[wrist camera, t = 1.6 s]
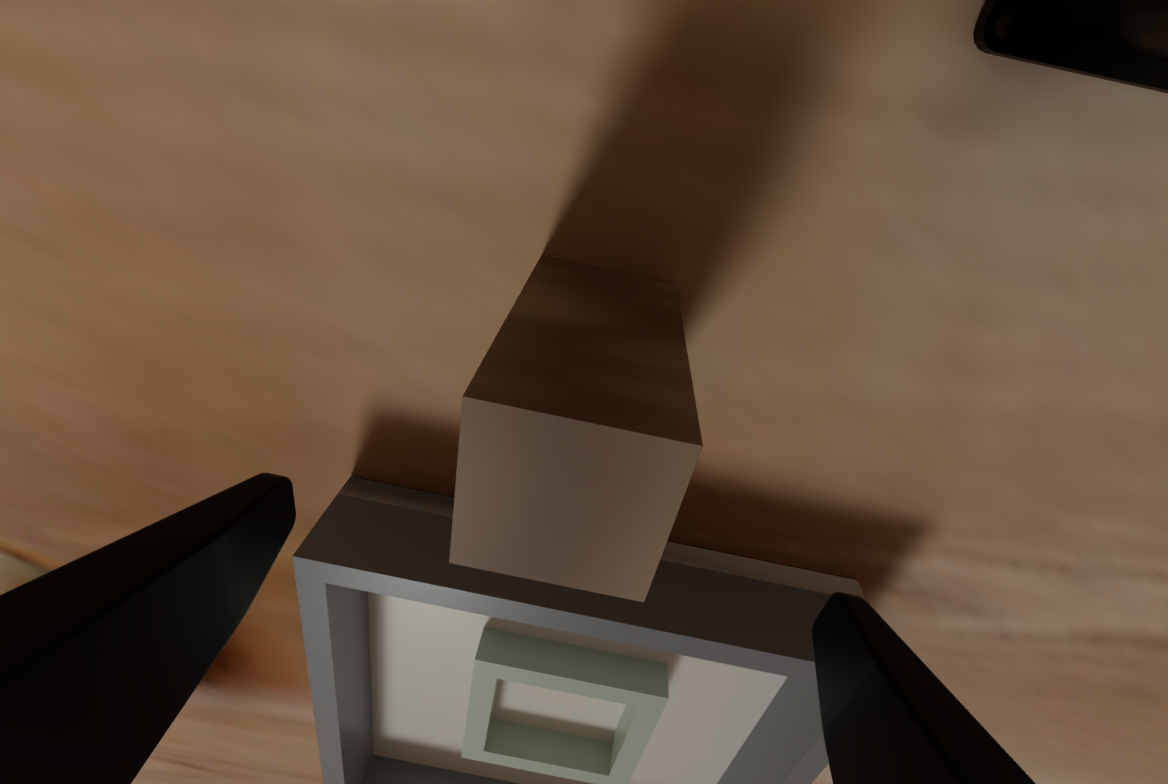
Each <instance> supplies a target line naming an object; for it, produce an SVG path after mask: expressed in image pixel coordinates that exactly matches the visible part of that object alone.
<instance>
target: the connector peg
mask: <svg viewBox="0 0 1168 784" xmlns="http://www.w3.org/2000/svg"><path fill="white" fill-rule="evenodd" d="M702 447H703V444H702V438H701V432H700V426H699V420H698V414H697V408H696V402H695V396H694V390H693V384H692V378H691V372H690V366H689V360H688V354H687V348H686V342H685V336H684V330H683V324H682V318H681V312H680V306H679V300H678V294H677V288H676V284H673V283H668V282H664V281H659V280H654V279H649V278H645V277H640V276H635V275H631V274H626V273H621V272H616V271H612V270H607V269H602V268H598V267H593V266H588V265H583V264H579V263H574V262H569V261H565V260H560V259H555V258H550V257H546V256H541V257H540V259H539V261H538V262H537V264H536V266H535V268H534V270H533V271H532V273H531V275H530V277H529V279H528V280H527V282H526V284H525V286H524V287H523V289H522V291H521V293H520V295H519V296H518V298H517V300H516V302H515V304H514V305H513V307H512V309H511V311H510V312H509V314H508V316H507V318H506V320H505V321H504V323H503V325H502V327H501V329H500V330H499V332H498V334H497V336H496V337H495V339H494V341H493V343H492V345H491V346H490V348H489V350H488V352H487V354H486V355H485V357H484V359H483V361H482V363H481V364H480V366H479V368H478V370H477V371H476V373H475V375H474V377H473V379H472V380H471V382H470V384H469V386H468V388H467V389H466V391H465V393H464V395H463V397H462V410H461V422H460V435H459V447H458V459H457V472H456V484H455V497H454V509H453V522H452V534H451V546H450V559H449V563H452V564H457V565H462V566H467V567H472V568H477V569H482V570H487V571H492V572H496V573H501V574H506V575H511V576H516V577H521V578H526V579H531V580H536V581H541V582H546V583H551V584H556V585H561V586H566V587H570V588H575V589H580V590H585V591H590V592H595V593H600V594H605V595H610V596H615V597H620V598H625V599H630V600H635V601H640V602H644V601H645V599H646V596H647V593H648V591H649V588H650V585H651V583H652V580H653V577H654V575H655V572H656V569H657V567H658V564H659V561H660V559H661V556H662V553H663V551H664V548H665V545H666V543H667V540H668V537H669V535H670V532H671V529H672V527H673V524H674V521H675V519H676V516H677V514H678V511H679V508H680V506H681V503H682V500H683V498H684V495H685V492H686V490H687V487H688V484H689V482H690V479H691V476H692V474H693V471H694V468H695V466H696V463H697V460H698V458H699V455H700V452H701V450H702Z"/></svg>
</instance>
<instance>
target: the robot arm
mask: <svg viewBox="0 0 1168 784" xmlns="http://www.w3.org/2000/svg"><path fill="white" fill-rule="evenodd" d="M1006 13H1007V14H1008V15H1010V17H1011V20H1012V23H1011V27H1010V30H1009V31H1008V33H1007V34H1006V35H1005V36H1004V37H1002V38H999V37H998V36H997V34H996V26H997V22H998V21H999V20H1000V18H1001V17H1002V16H1003V15H1004V14H1006ZM973 34H974V43H975V44H976V46H977V48H978V49H979V50H981V51H983V52H985V53H987V54H992V55H997V56H1001V57H1006V58H1010V59H1015V60H1019V61H1024V62H1028V63H1033V64H1037V65H1042V66H1046V67H1051V68H1055V69H1060V70H1064V71H1069V72H1074V73H1078V74H1083V75H1087V76H1092V77H1096V78H1101V79H1105V80H1110V81H1114V82H1119V83H1123V84H1128V85H1132V86H1137V87H1142V88H1146V89H1151V90H1155V91H1160V92H1164V93H1168V0H986V3H985V5H984V7H983V9H982V11H981V13H980V15H979V18H978V20H977V22H976V25H975V29H974V32H973ZM295 518H296V510H295V502H294V495H293V487H292V482H291V480H290V479H289V478H287V477H285V476H280V475H276V474H271V473H261V474H258V475H256V476H254V477H252V478H249V479H247V480H245V481H243V482H241V483H239V484H237V485H234V486H232V487H230V488H228V489H226V490H224V491H222V492H219V493H217V494H215V495H213V496H211V497H209V498H207V499H205V500H202V501H200V502H198V503H196V504H194V505H192V506H190V507H187V508H185V509H183V510H181V511H179V512H177V513H175V514H172V515H170V516H168V517H166V518H164V519H162V520H160V521H157V522H155V523H153V524H151V525H149V526H147V527H145V528H143V529H140V530H138V531H136V532H134V533H132V534H130V535H128V536H125V537H123V538H121V539H119V540H117V541H115V542H113V543H110V544H108V545H106V546H104V547H102V548H100V549H98V550H95V551H93V552H91V553H89V554H87V555H85V556H83V557H81V558H78V559H76V560H74V561H72V562H70V563H68V564H66V565H63V566H61V567H59V568H57V569H55V570H53V571H51V572H48V573H46V574H44V575H42V576H40V577H38V578H36V579H33V580H31V581H29V582H27V583H25V584H23V585H21V586H18V587H16V588H14V589H12V590H10V591H8V592H6V593H4V594H1V595H0V784H131V783H132V781H133V780H134V778H135V777H136V775H137V774H138V772H139V771H140V769H141V768H142V767H143V765H144V764H145V762H146V761H147V759H148V758H149V756H150V755H151V753H152V752H153V750H154V749H155V747H156V746H157V744H158V743H159V742H160V740H161V739H162V737H163V736H164V734H165V733H166V731H167V730H168V728H169V727H170V725H171V724H172V722H173V721H174V719H175V718H176V716H177V715H178V714H179V712H180V711H181V709H182V708H183V706H184V705H185V703H186V702H187V700H188V699H189V697H190V696H191V694H192V693H193V691H194V690H195V689H196V687H197V686H198V684H199V683H200V681H201V680H202V678H203V677H204V675H205V674H206V672H207V671H208V669H209V668H210V666H211V665H212V664H213V662H214V661H215V659H216V658H217V656H218V655H219V653H220V652H221V650H222V649H223V647H224V646H225V644H226V643H227V641H228V640H229V638H230V637H231V636H232V634H233V633H234V631H235V630H236V628H237V627H238V625H239V624H240V622H241V620H242V619H243V617H244V616H245V614H246V613H247V611H248V609H249V607H250V606H251V604H252V602H253V600H254V599H255V597H256V595H257V593H258V591H259V589H260V587H261V586H262V584H263V582H264V580H265V578H266V576H267V574H268V573H269V571H270V569H271V567H272V565H273V563H274V561H275V560H276V558H277V556H278V554H279V552H280V550H281V548H282V547H283V545H284V543H285V541H286V539H287V537H288V535H289V534H290V532H291V530H292V528H293V525H294V522H295ZM812 642H813V651H814V661H815V670H816V679H817V688H818V697H819V707H820V716H821V723H822V730H823V736H824V741H825V747H826V752H827V756H828V761H829V766H830V771H831V775H832V780H833V784H1035V782H1034V781H1033V780H1032V779H1031V778H1030V777H1029V776H1028V775H1027V774H1026V773H1025V772H1024V771H1023V770H1022V768H1021V767H1020V766H1019V765H1018V764H1017V763H1016V762H1015V761H1014V760H1013V759H1012V758H1011V757H1010V756H1009V754H1008V753H1007V752H1006V751H1005V750H1004V749H1003V748H1002V747H1001V746H1000V745H999V744H998V743H997V742H996V740H995V739H994V738H993V737H992V736H991V735H990V734H989V733H988V732H987V731H986V730H985V729H984V728H983V726H982V725H981V724H980V723H979V722H978V721H977V720H976V719H975V718H974V717H973V716H972V715H971V713H970V712H969V711H968V710H967V709H966V708H965V707H964V706H963V705H962V704H961V703H960V702H959V701H958V699H957V698H956V697H955V696H954V695H953V694H952V693H951V692H950V691H949V690H948V689H947V688H946V687H945V685H944V684H943V683H942V682H941V681H940V680H939V679H938V678H937V677H936V676H935V675H934V674H933V673H932V671H931V670H930V669H929V668H928V667H927V666H926V665H925V664H924V663H923V662H922V661H921V660H920V659H919V657H918V656H917V655H916V654H915V653H914V652H913V651H912V650H911V649H910V648H909V647H908V646H907V645H906V643H905V642H904V641H903V640H902V639H901V638H900V637H899V636H898V635H897V634H896V633H895V632H894V630H893V629H892V628H891V627H890V626H889V625H888V624H887V623H886V622H885V621H884V620H883V619H882V618H881V616H880V615H879V614H878V613H877V612H876V611H875V610H874V609H873V608H872V607H871V606H870V605H869V604H868V602H867V601H865V600H864V599H863V598H862V597H860V596H857V595H853V594H848V593H843V592H835V593H833V594H832V595H831V596H830V598H829V599H828V601H827V602H826V604H825V605H824V607H823V608H822V610H821V611H820V613H819V615H818V616H817V618H816V619H815V621H814V624H813V627H812Z"/></svg>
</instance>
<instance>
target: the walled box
mask: <svg viewBox="0 0 1168 784" xmlns="http://www.w3.org/2000/svg"><path fill="white" fill-rule="evenodd" d="M453 509H454V497H449V496H444V495H439V494H434V493H430V492H425V491H420V490H415V489H410V488H405V487H400V486H396V485H391V484H386V483H381V482H376V481H371V480H366V479H361V478H357V477H352V476H350V478H349V479H348V481H347V482H346V483H345V485H344V486H343V487H342V489H341V490H340V491H339V493H338V494H337V496H336V497H335V498H334V500H333V501H332V502H331V504H330V505H329V507H328V508H327V509H326V511H325V512H324V513H323V515H322V516H321V517H320V519H319V520H318V522H317V523H316V524H315V526H314V527H313V528H312V530H311V531H310V533H309V534H308V535H307V537H306V538H305V539H304V541H303V542H302V543H301V545H300V546H299V548H298V549H297V550H296V552H295V553H294V554H293V556H292V558H293V565H294V573H295V580H296V587H297V594H298V601H299V609H300V616H301V623H302V630H303V638H304V645H305V652H306V659H307V667H308V674H309V681H310V688H311V695H312V703H313V710H314V717H315V724H316V732H317V739H318V746H319V753H320V760H321V768H322V775H323V782H324V784H811V783H812V782H813V781H814V780H815V779H816V777H817V776H818V775H819V774H820V773H821V771H822V770H823V769H824V768H825V767H826V766H827V764H828V763H829V761H828V756H827V752H826V747H825V741H824V736H823V730H822V723H821V716H820V707H819V697H818V688H817V679H816V670H815V661H814V651H813V642H812V627H813V624H814V621H815V619H816V618H817V616H818V615H819V613H820V611H821V610H822V608H823V607H824V605H825V604H826V602H827V601H828V599H829V598H830V596H831V595H832V594H833V593H835V592H843V593H848V594H853V595H857V596H860V597H862V598H863V599H864V600H865V601H866V599H865V597H864V594H863V592H862V590H861V587H860V585H859V583H858V580H853V579H848V578H843V577H839V576H834V575H829V574H824V573H819V572H814V571H809V570H805V569H800V568H795V567H790V566H785V565H780V564H775V563H770V562H766V561H761V560H756V559H751V558H746V557H741V556H736V555H731V554H727V553H722V552H717V551H712V550H707V549H702V548H697V547H693V546H688V545H683V544H678V543H673V542H668V541H667V543H666V545H665V548H664V551H663V553H662V556H661V559H660V561H659V564H658V567H657V569H656V572H655V575H654V577H653V580H652V583H651V585H650V588H649V591H648V593H647V596H646V599H645V601H644V602H640V601H635V600H630V599H625V598H620V597H615V596H610V595H605V594H600V593H595V592H590V591H585V590H580V589H575V588H570V587H566V586H561V585H556V584H551V583H546V582H541V581H536V580H531V579H526V578H521V577H516V576H511V575H506V574H501V573H496V572H492V571H487V570H482V569H477V568H472V567H467V566H462V565H457V564H452V563H449V559H450V546H451V534H452V522H453Z"/></svg>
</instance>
